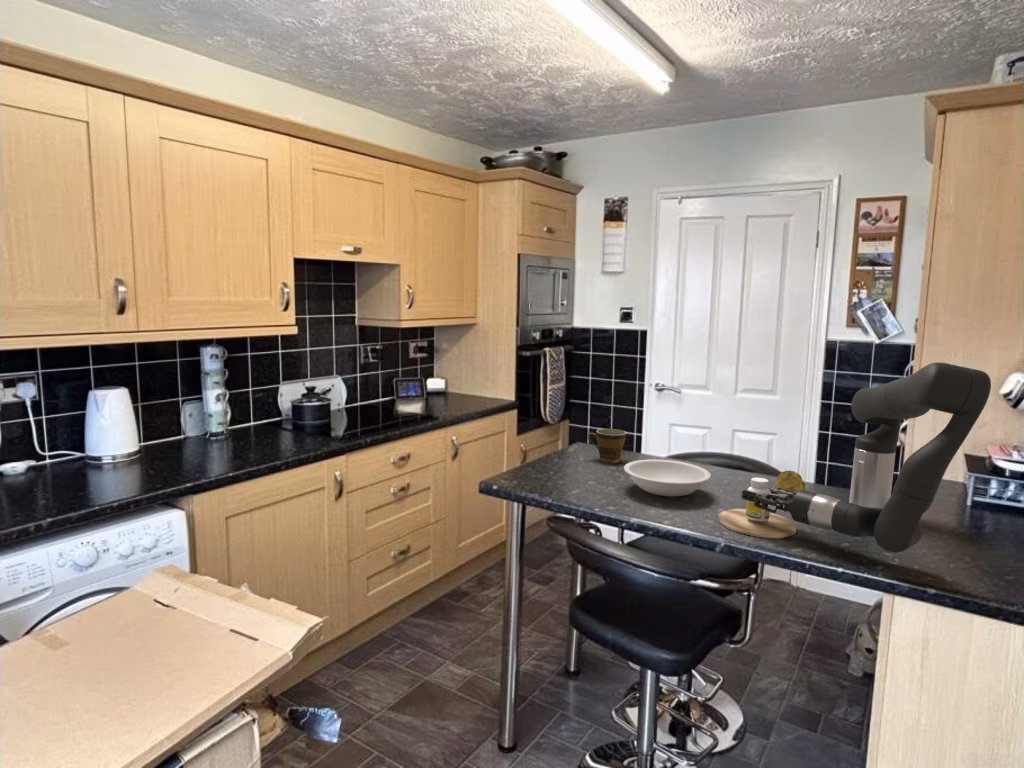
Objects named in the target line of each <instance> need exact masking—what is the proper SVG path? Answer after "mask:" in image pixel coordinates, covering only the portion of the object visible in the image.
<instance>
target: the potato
mask: <svg viewBox="0 0 1024 768" xmlns="http://www.w3.org/2000/svg"><path fill="white" fill-rule="evenodd" d="M777 488H783V489H788V490H793V491H799V490H806V484H805V482H804V480H803V477H802V476H801V474H799V473H798V472H796V471H793V470H784V471H782V472H780V473H779V474H778V476H777V477H776V480H775V489H777Z"/></svg>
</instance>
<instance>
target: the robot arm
mask: <svg viewBox="0 0 1024 768" xmlns="http://www.w3.org/2000/svg"><path fill="white" fill-rule="evenodd" d="M991 388H992V380H991V377H990V375H989V374H988V373H987V372H985V371H983V370H979V369H976V368H971V367H967V366H966V367H965V366H961V365H955V364H950V363H947V362H932V363H929V364H927V365H925V366H923V367H921V368H920V369H918V370H917V371H915V372H913V373H912V374H910V375H907V376H904V377H901V378H898V379H897V378H896V379H894V380H892V381H890V382H887V383H883V384H881V385H879V386H875V387H863V388H860V389H858V391H856V393H855V394H854V396H853V397H852V401H851V411H852V412H851V413H852V415H853V417H854V419H856V420H857V421H858V422H859V423H864V424H872V425H880V426H879V428H877V429H876V430H873V431H871V432H868V433H865V434H861V435H858V436H856V439H855V442H854V443H855V444H854V453H853V461H852V462H853V464H852V471H851V480H850V481H851V482H850V489H849V490H850V491H849V499H848V500H849V501H845V500H841V499H838V498H837V497H836V498H835V497H832V496H829V495H826V494H820V493H818V492H814V491H813V492H812V491H810V490H806V489H805V490H799V491H793V490H788V489H783V488H777V489H776V488H775V487H773V488H768V487H767V488H768V489H769V490H770V491H771V493H768V494H766V495H765V494H760V493H755V492H751V491H748V489H744V490H742V491H741V498H742V500H744V501H747V500H748V501H752V502H754V506H755V507H758V508H761V509H763V510H766V511H769V512H770V513H773V514H776V513H777V511H779V512H783V513H786V512H788V513H790V517H791V518H792V520H793V521H794V522H798V523H800V524H803V525H808V526H810V527H814V528H817V529H822V530H824V531H825V530H826V531H832V532H836V533H838V534H839V533H840V534H842V535H846V536H848V537H849V536H850V537H855V538H863V537H871V538H874V540H875V542H876V544H877V545H878V546H879V547H880V548H881V549H882V550H884V551H887V552H888V553H889V552H890V553H901V552H904V551H907V550H908V549H910V548H911V547H913V546H915V545H917V544H918V543H919V542H920V540H921V539H922V537H923V534H924V529H923V527H922V524H921V522H920V521H921V519H922V517H923V515H924V514H925V513H926V512H927V511H928V510H929V509H930V507H931V506H932V504H933V502H934V500H935V497H936V495H937V492H938V490H939V486H940V485H941V483H942V480H943V477H944V475H945V473H946V471H947V469H948V468H949V465H950V464H951V462H952V460H953V459H954V457H955V455H956V454H957V452H959V450H960V448H961V446H962V445H963V444H964V442H965V440H966V439H967V437H968V435H969V434H970V432H971V430H973V427H974V426H975V424H976V422H977V420H978V419H979V417H980V416H981V414H982V412H983V411H984V408H985V406H986V405H987V402H988V400H989V398H990V395H991ZM930 410H934V411H939V412H942V413H945V414H946V413H947V414H951V415H952V416H951V418H950V420H949V421H948V423H947V424H946V426H945V427H944V428H943V429H942V430H941V431H940V432H939V433H938V434H937V435H936V436H935V437H933V438H932V439H931V440H929V441H928V442H927V443H925V444H924V445H923V446H921V447H920V448H918V449H917V450H915V451H914V452H913V453H911V455H909V456H908V458H907V459H906V460H905V461H904V463H903V464H902V466H901V468H900V469H899V472H898V476H897V479H896V480H895V483H894V486H893V478H894V471H895V461H896V451H897V446H898V441H899V438H900V437H899V435H900V429H901V423H902V420H909V419H915V418H918V417H922V416H923V415H925V414H927V413H929V412H930ZM892 486H893V487H892ZM770 497H771V500H770ZM761 501H762V502H761Z"/></svg>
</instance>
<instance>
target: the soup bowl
mask: <svg viewBox="0 0 1024 768" xmlns="http://www.w3.org/2000/svg"><path fill="white" fill-rule="evenodd" d="M623 470H624V472H625V473H626V474H627V475H629V476H630V478H631V480H632V481H633V482H634V483H635V485H637V486H638V488H640V489H642V490H643V491H645V492H646V493H650V494H654V495H657V496H661V497H662V496H664V497H681V496H687V495H690V494H692V493H694V492H695V491H697V490H698V489H700V488H701V486H702V485H703V483H705V482H707V481H709V480H710V479H711V477H712V474H711V472H710V471H709V470H707V469H705V468H703V467H701V466H699V465H695V464H692V463H689V462H682V461H678V460H677V461H676V460H670V459H669V460H668V459H667V460H666V459H639V460H638V459H637V460H633V461H630V462H628V463H626V464H625V465H624V466H623Z"/></svg>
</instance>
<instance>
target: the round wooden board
mask: <svg viewBox="0 0 1024 768" xmlns="http://www.w3.org/2000/svg"><path fill="white" fill-rule="evenodd" d="M717 520H718V523H719V525H721V526H722V527H724V528H725V529H727V530H730V531H732V532H734V533H737V532H738V533H737V534H740V533H741V535H744V534H746V535H745V536H748V535H750V537H753V536H755V537H754V538H760V537H761V539H762V538H763V539H785V538H784V537H786V538H788V537H789V536H790V537H792V536H795V534H796V533H797V525H796V524H795V522H793V521H792V520H790V519H789V518H787V517H785V516H782V515H779V514H776V513H771V512H770V515H769V520H767V521H754V520H751V519H749V518H747V517H746V508H732V509H726V510H723V511H721V512H720V513H719V514H718V515H717ZM790 537H789V538H790Z"/></svg>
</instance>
